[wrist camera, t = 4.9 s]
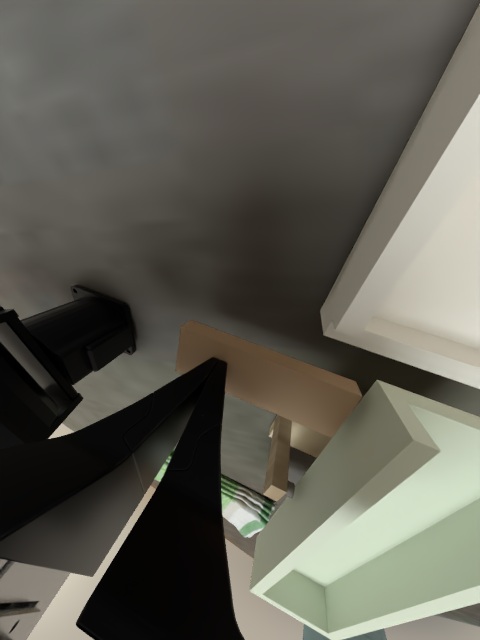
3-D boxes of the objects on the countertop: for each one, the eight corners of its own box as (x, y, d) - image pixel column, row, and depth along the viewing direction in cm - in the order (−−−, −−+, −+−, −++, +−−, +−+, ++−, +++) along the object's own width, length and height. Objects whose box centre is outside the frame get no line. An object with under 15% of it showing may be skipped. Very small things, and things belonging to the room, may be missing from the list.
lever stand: (267, 425, 20) (252, 506, 14) (294, 378, 15) (287, 466, 10) (369, 470, 18) (396, 580, 13) (431, 431, 14) (512, 572, 8)
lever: (166, 487, 19) (144, 528, 16) (192, 311, 10) (154, 335, 7) (327, 575, 16) (334, 641, 13) (545, 441, 8) (682, 548, 5)
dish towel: (251, 521, 38) (247, 546, 35) (156, 470, 41) (145, 489, 38) (279, 498, 29) (276, 529, 26) (153, 434, 32) (138, 456, 29)
